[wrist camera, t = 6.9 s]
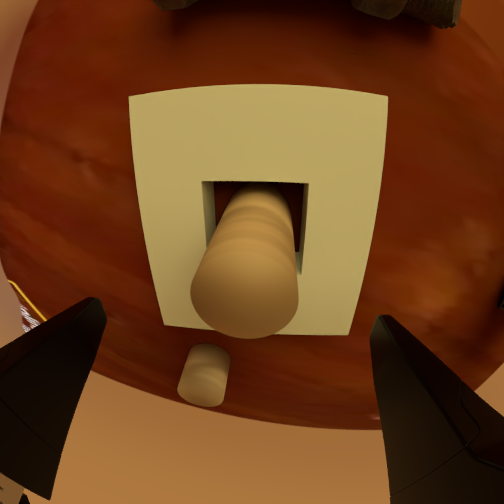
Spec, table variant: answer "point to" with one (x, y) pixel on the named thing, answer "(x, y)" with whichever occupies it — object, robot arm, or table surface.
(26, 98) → the table surface
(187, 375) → the short pin
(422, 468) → the robot arm
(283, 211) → the long pin
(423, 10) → the bolt
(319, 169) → the board
